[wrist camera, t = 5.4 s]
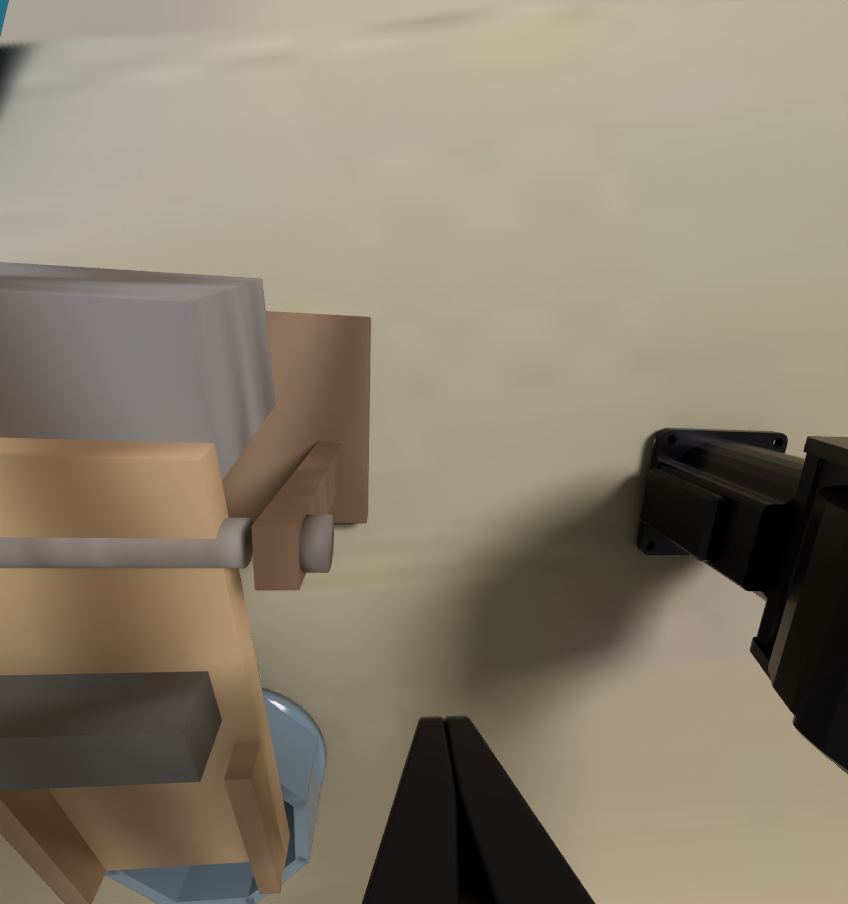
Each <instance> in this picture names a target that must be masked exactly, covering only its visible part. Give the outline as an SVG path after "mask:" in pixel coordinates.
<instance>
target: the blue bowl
mask: <svg viewBox="0 0 848 904" xmlns="http://www.w3.org/2000/svg"><path fill="white" fill-rule="evenodd" d="M262 693H263V698H264V703H265V708H266V713H267V719H268V724H269V729H270V734H271V739H272V745H273V750H274V755H275V760H276V765H277V771H278V776H279V781H280V786H281V791H282V797H283V802H284V807H285V812H286V817H287V822H288V828H289V833H290V838H289V844H288V850H287V856H286V861H285V867H284V873H283V879H282V883H283V882H284V881H285V880H287V879H288V878H289V877H291V876H292V875H293V874H294V873H296V872H297V871H298V870H299V869H301V868H302V867H303V866H304V865H306V864H307V863H309V860H310V853H311V847H312V841H313V834H314V828H315V822H316V815H317V809H318V803H319V797H320V787H321V785H322V781H323V777H324V772H325V766H326V746H325V742H324V738H323V736H322V733H321V731H320V729H319V727H318V726H317V724H316V723H315V721H314V720H313V718H312V717H311V716H310V715H309V714H308V713H307V712H306V711H305V710H304V709H303V708H302V707H300V706H299V705H298V704H296V703H295V702H293V701H292V700H290V699H289V698H287V697H285V696H283V695H281V694H279V693H276V692H273V691H270V690H268V689H264V688H262ZM105 876H108V877H110V878H112V879H114V880H115V881H117V882H119V883H121V884H123V885H125V886H127V887H128V888H130V889H132V890H134V891H136V892H138V893H139V894H141V895H143V896H145V897H147V898H149V899H150V900H152V901H154V902H156V903H158V904H256V903H258V902H259V901H260V900H262V899H263V898H264V897H265V896H267V895H268V894H259V890H258V887H257V884H256V881H255V878H254V875H253V871H252V868H251V865H250V862H240V863H224V864H208V865H191V866H175V867H159V868H142V869H126V870H110V871H106V873H105Z"/></svg>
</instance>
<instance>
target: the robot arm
mask: <svg viewBox="0 0 848 904" xmlns="http://www.w3.org/2000/svg"><path fill="white" fill-rule="evenodd" d="M669 435H671V439H670V441H669V442H668V443H667V442H666V439H667V437H668V436H669ZM774 440H775V443H774V445H773V442H774ZM787 442H788V439H787V436H786V435H785V434H782V433H778V432H773V431H744V430H714V429H685V428H664V429H662V430H661V431H660V432H659V433H658V434H657V437H656V441H655V447H654V452H653V457H652V463H651V468H650V472H649V474H648V479H647V484H646V490H645V495H644V500H643V506H642V511H641V516H640V518H641V521H640V527H639V532H638V537H637V547H638V549H639V550H640V551H642V552H643V553H644V554H646V555H691V556H693V557H694V558H696V559H697V560H699V561H703V562H704V563H706V564H707V565H709V566H710V567H712V568H713V569H715V570H716V571H718V572H719V573H721V574H722V575H724V576H725V577H727V578H728V579H730V580H731V581H732V582H734V583H735V584H737V585H738V586H740V587H741V588H743V589H744V590H746V591H752V592H753V593H755V594H756V595H758V596H759V597H761V598H762V599H764V600H765V601H766V604H765V608H764V612H763V615H762V619H761V623H760V626H759V630H758V634H757V637H753V639H752V643H751V647H750V652H751V653H752V655H753V656H754V657H755V659H756V660H757V662H758V663H759V664H760V666H761V667H762V669H763V670H764V672H765V673H766V674H767V676H768V677H769V679H770V680H771V682H772V686H773V688H774V689H775V690H776V692H777V693H778V695H779V696H780V697H781V699H782V700H783V701H784V703H785V704H786V705H787V707H788V708H789V710H790V711H791V712H792V713H793V714H794V718H793V725H794V726H795V728H796V729H797V730H798V731H799V732H800V734H801V735H802V736H803V737H804V738H806V739H807V740H808V741H809V742H810V743H811V744H812V745H813V746H815V747H816V748H817V749H818V750H819V751H820V752H821V753H822V754H824V755H825V756H826V757H827V758H828V759H830V760H831V761H832V762H834V763H835V764H836V765H837V766H839V767H840V768H841V769H842V770H843V771H845V772H846V773H847V774H848V437H819V436H808V437H807V440H806V444H805V447H804V452H806V453H807V454H806V458H805V459H803V458H799V457H796V456H792V455H788V454H785V451H786V447H787ZM648 542H650V545H648V546H647V547H646V544H647V543H648ZM362 904H595V902H594V901H593V899H592V898H591V896H590V895H589V894H588V892H587V891H586V889H585V888H584V886H583V885H582V883H581V882H580V880H579V879H578V877H577V876H576V874H575V873H574V871H573V870H572V869H571V867H570V866H569V864H568V863H567V861H566V860H565V858H564V857H563V855H562V854H561V852H560V851H559V849H558V848H557V846H556V845H555V843H554V842H553V841H552V839H551V838H550V836H549V835H548V833H547V832H546V830H545V829H544V827H543V826H542V824H541V823H540V821H539V820H538V818H537V817H536V816H535V814H534V813H533V811H532V810H531V808H530V807H529V805H528V804H527V802H526V801H525V799H524V798H523V796H522V795H521V793H520V792H519V790H518V789H517V788H516V786H515V785H514V783H513V782H512V780H511V779H510V777H509V776H508V774H507V773H506V771H505V770H504V768H503V767H502V765H501V764H500V763H499V761H498V760H497V758H496V757H495V755H494V754H493V752H492V751H491V749H490V748H489V746H488V745H487V743H486V742H485V740H484V739H483V737H482V736H481V735H480V733H479V732H478V730H477V729H476V727H475V726H474V724H473V723H472V721H471V720H470V719H469V718H468V717H467V716H447V717H446V718H445V719H444V720H443V718H442V717H439V716H436V717H421V718H420V719H419V721H418V724H417V727H416V730H415V734H414V737H413V740H412V743H411V747H410V750H409V753H408V756H407V759H406V763H405V766H404V769H403V772H402V776H401V779H400V782H399V785H398V788H397V792H396V795H395V798H394V801H393V805H392V808H391V811H390V814H389V817H388V821H387V824H386V827H385V830H384V834H383V837H382V840H381V843H380V847H379V850H378V853H377V856H376V859H375V863H374V866H373V869H372V872H371V876H370V879H369V882H368V885H367V888H366V892H365V895H364V898H363V901H362Z"/></svg>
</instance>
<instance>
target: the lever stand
mask: <svg viewBox="0 0 848 904" xmlns="http://www.w3.org/2000/svg"><path fill="white" fill-rule="evenodd" d="M266 318H267V327H268V337H269V346H270V355H271V364H272V373H273V382H274V392H275V401H276V405H275V407H274V408H273V409H272V411H271V412H270V414H269V415H268V416H267V418H266V419H265V421H264V422H263V424H262V425H261V426H260V428H259V429H258V431H257V432H256V434H255V435H254V436H253V438H252V439H251V441H250V442H249V443H248V445H247V446H246V448H245V449H244V451H243V452H242V453H241V455H240V456H239V458H238V459H237V461H236V462H235V463H234V465H233V466H232V468H231V469H230V470H229V472H228V473H227V475H226V476H225V478H224V479H223V480H222V485H223V490H224V495H225V500H226V506H227V511H228V516H229V518H251V519H252V521H253V522H254V524H253V525H252V526H251V528H252V545H253V562H254V580H255V590H300V587H301V585H302V582H303V579H304V577H305V574H306V573H328V572H329V571H330V568H331V563H332V556H333V544H334V523H367V517H368V470H369V406H370V342H371V318H370V317H359V316H342V315H324V314H306V313H288V312H270V311H266Z"/></svg>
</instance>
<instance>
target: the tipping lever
mask: <svg viewBox="0 0 848 904" xmlns="http://www.w3.org/2000/svg"><path fill="white" fill-rule="evenodd" d="M275 405H276V401H275V392H274V382H273V373H272V364H271V355H270V346H269V337H268V327H267V318H266V309H265V300H264V291H263V282H262V279H259V278H243V277H227V276H211V275H196V274H180V273H164V272H148V271H132V270H116V269H100V268H84V267H68V266H53V265H37V264H21V263H5V262H0V833H1V834H2V836H3V837H4V838H5V839H6V840H7V841H8V842H9V843H10V844H11V845H12V846H13V848H14V849H15V850H16V851H17V852H18V853H19V854H20V855H21V856H22V857H23V858H24V860H25V861H26V862H27V863H28V864H29V865H30V866H31V867H32V868H33V869H34V870H35V872H36V873H37V874H38V875H39V876H40V877H41V878H42V879H43V880H44V881H45V882H46V884H47V885H48V886H49V887H50V888H51V889H52V890H53V891H54V892H55V893H56V894H57V896H58V897H59V898H60V899H61V900H62V901H63V902H64V903H65V904H92V901H93V899H94V897H95V895H96V893H97V890H98V888H99V886H100V884H101V882H102V879H103V877H104V875H105V873H106V871H110V870H126V869H142V868H159V867H175V866H191V865H208V864H224V863H240V862H250V865H251V868H252V871H253V875H254V878H255V881H256V884H257V887H258V890H259V894H272V893H280V890H281V885H282V879H283V873H284V867H285V861H286V856H287V850H288V844H289V838H290V833H289V828H288V822H287V817H286V812H285V807H284V802H283V797H282V791H281V786H280V781H279V776H278V771H277V765H276V760H275V755H274V750H273V745H272V739H271V734H270V729H269V724H268V719H267V713H266V708H265V703H264V698H263V693H262V687H261V682H260V677H259V672H258V667H257V661H256V656H255V651H254V646H253V641H252V636H251V630H250V625H249V620H248V615H247V610H246V604H245V599H244V594H243V589H242V584H241V578H240V573H239V568H246V567H247V566H248V565H249V563H250V561H251V558H252V555H253V545H252V528H251V526H252V525H253V524H254V523H253V521H252V519H251V518H229V516H228V511H227V506H226V500H225V495H224V490H223V485H222V480H223V479H224V478H225V476H226V475H227V473H228V472H229V470H230V469H231V468H232V466H233V465H234V463H235V462H236V461H237V459H238V458H239V456H240V455H241V453H242V452H243V451H244V449H245V448H246V446H247V445H248V443H249V442H250V441H251V439H252V438H253V436H254V435H255V434H256V432H257V431H258V429H259V428H260V426H261V425H262V424H263V422H264V421H265V419H266V418H267V416H268V415H269V414H270V412H271V411H272V409H273V408H274V407H275Z"/></svg>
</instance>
